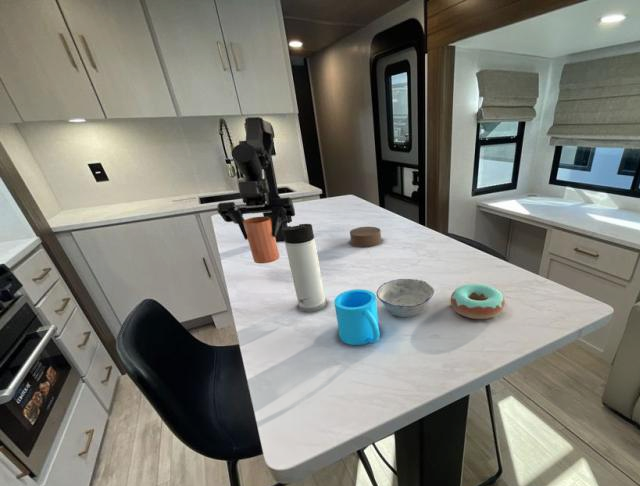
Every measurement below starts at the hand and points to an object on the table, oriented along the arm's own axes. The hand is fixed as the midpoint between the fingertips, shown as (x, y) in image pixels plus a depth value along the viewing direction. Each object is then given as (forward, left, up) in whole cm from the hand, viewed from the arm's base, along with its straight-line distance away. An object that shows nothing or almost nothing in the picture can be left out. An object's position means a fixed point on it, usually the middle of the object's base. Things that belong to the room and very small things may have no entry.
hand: (260, 237), depth 85 cm
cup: (-1, 0, -7) cm, 7 cm away
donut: (+26, +52, -12) cm, 59 cm away
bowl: (+23, +36, -12) cm, 44 cm away
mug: (+33, +26, -12) cm, 43 cm away
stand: (-26, +28, -12) cm, 40 cm away
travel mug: (+18, +14, -12) cm, 26 cm away
